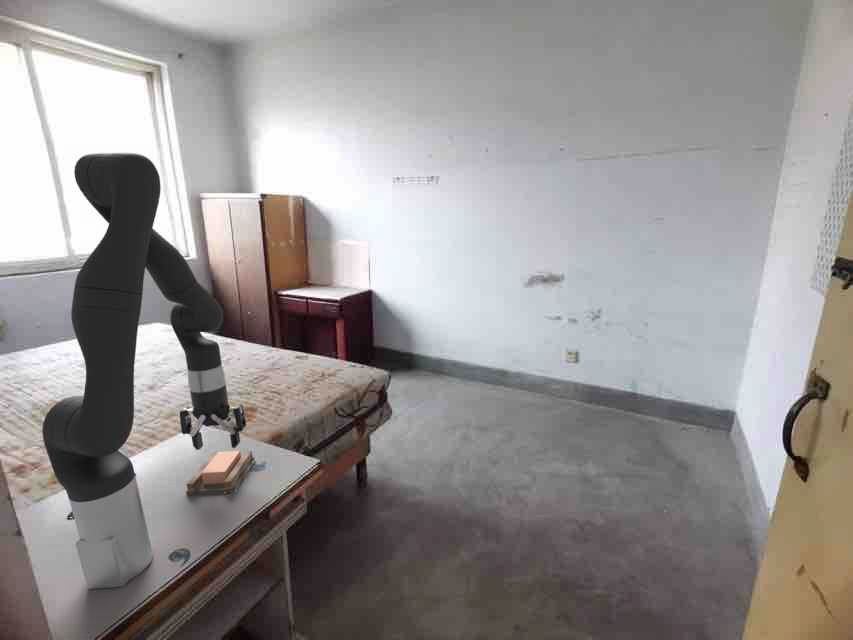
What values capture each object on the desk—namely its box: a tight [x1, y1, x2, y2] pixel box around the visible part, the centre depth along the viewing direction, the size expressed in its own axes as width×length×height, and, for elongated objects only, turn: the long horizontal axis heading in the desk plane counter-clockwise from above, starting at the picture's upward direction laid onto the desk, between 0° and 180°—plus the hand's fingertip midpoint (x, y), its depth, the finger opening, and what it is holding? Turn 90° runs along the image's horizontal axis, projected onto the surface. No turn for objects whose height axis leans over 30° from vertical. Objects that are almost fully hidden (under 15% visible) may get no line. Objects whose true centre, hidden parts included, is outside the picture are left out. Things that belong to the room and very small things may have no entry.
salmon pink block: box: [201, 450, 242, 484], centre depth 101 cm, size 9×6×3 cm, turn 3°
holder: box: [185, 450, 256, 496], centre depth 100 cm, size 13×11×3 cm
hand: (217, 447), depth 99 cm, fingers open, 8 cm apart
